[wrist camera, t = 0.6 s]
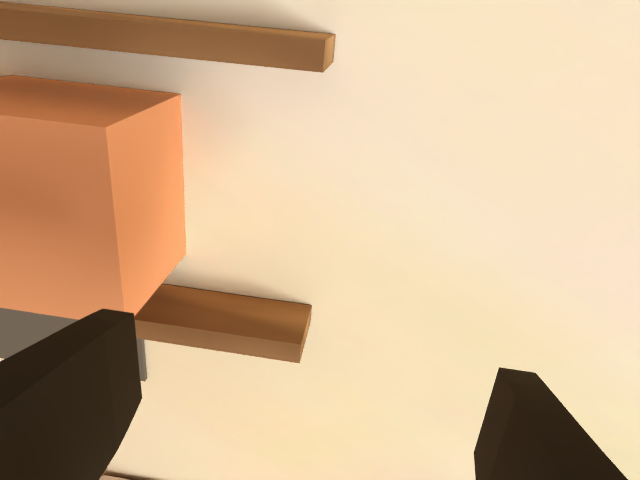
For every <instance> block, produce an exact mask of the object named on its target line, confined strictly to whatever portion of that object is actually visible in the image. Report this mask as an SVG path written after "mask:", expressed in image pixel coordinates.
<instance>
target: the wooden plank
mask: <svg viewBox="0 0 640 480" xmlns="http://www.w3.org/2000/svg"><path fill="white" fill-rule="evenodd" d="M335 35H336V34H327V33H316V32H306V31H296V30H285V29H275V28H265V27H255V26H244V25H234V24H224V23H213V22H203V21H193V20H183V19H172V18H162V17H152V16H141V15H131V14H121V13H110V12H100V11H90V10H80V9H69V8H59V7H49V6H38V5H28V4H18V3H8V2H0V39H5V40H15V41H25V42H34V43H44V44H53V45H63V46H73V47H82V48H92V49H102V50H111V51H121V52H131V53H140V54H150V55H159V56H169V57H179V58H188V59H198V60H208V61H217V62H227V63H236V64H246V65H256V66H265V67H275V68H285V69H294V70H304V71H314V72H324V71H325V70H326V69H327V68H328V67H329V66H330V65H331V64H332V63H333V58H334V46H335ZM311 308H312V305H305V304H298V303H291V302H284V301H277V300H270V299H263V298H256V297H249V296H242V295H235V294H228V293H221V292H214V291H207V290H200V289H193V288H186V287H179V286H172V285H165V284H161V285H160V286H159V287H158V289H157V290H156V291H155V292H154V293H153V295H152V296H151V297H150V298H149V299H148V301H147V302H146V303H145V304H144V306H143V307H142V308H141V309H140V310H139V312H138V313H137V314H136V315H135V316H134V319H135V330H136V338H139V339H145V340H152V341H158V342H165V343H172V344H178V345H185V346H191V347H198V348H204V349H211V350H217V351H224V352H230V353H237V354H243V355H250V356H256V357H263V358H269V359H276V360H282V361H289V362H295V363H300V359H301V356H302V352H303V348H304V344H305V341H306V337H307V333H308V329H309V325H310V320H311Z"/></svg>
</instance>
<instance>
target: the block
mask: <svg viewBox="0 0 640 480" xmlns="http://www.w3.org/2000/svg"><path fill="white" fill-rule="evenodd" d="M185 254H186V235H185V207H184V179H183V151H182V123H181V95H180V94H175V93H166V92H157V91H148V90H139V89H130V88H121V87H113V86H104V85H95V84H86V83H77V82H68V81H59V80H50V79H41V78H32V77H24V76H15V75H10V76H5V77H0V308H6V309H12V310H19V311H25V312H32V313H38V314H45V315H51V316H58V317H64V318H71V319H77V320H80V319H82V318H84V317H86V316H88V315H90V314H92V313H94V312H96V311H98V310H100V309H110V310H116V311H123V312H130V313H134V316H135V315H136V314H137V313H138V312H139V310H140V309H141V308H142V307H143V306H144V304H145V303H146V302H147V301H148V299H149V298H150V297H151V296H152V295H153V293H154V292H155V291H156V290H157V289H158V287H159V286H160V285H161V284H162V282H163V281H164V280H165V279H166V278H167V276H168V275H169V274H170V273H171V271H172V270H173V269H174V268H175V267H176V265H177V264H178V263H179V262H180V261H181V259H182V258H183V257H184V256H185Z"/></svg>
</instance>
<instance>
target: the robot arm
mask: <svg viewBox="0 0 640 480" xmlns="http://www.w3.org/2000/svg"><path fill="white" fill-rule="evenodd" d="M141 399H142V393H141V383H140V372H139V361H138V351H137V340H136V330H135V319H134V313H130V312H123V311H116V310H110V309H100V310H98V311H96V312H94V313H92V314H90V315H88V316H86V317H84V318H82V319H80V320H78V321H76V322H74V323H72V324H70V325H68V326H66V327H64V328H63V329H61V330H59V331H57V332H55V333H53V334H51V335H49V336H48V337H46V338H44V339H42V340H40V341H38V342H36V343H35V344H33V345H31V346H29V347H27V348H25V349H23V350H21V351H19V352H18V353H16V354H14V355H12V356H10V357H8V358H6V359H4V360H2V361H1V362H0V480H129V479H124V478H118V477H113V476H107V475H102V474H103V473H104V471H105V469H106V468H107V466H108V465H109V463H110V461H111V460H112V458H113V457H114V455H115V453H116V452H117V450H118V448H119V446H120V444H121V442H122V440H123V438H124V436H125V434H126V432H127V430H128V428H129V426H130V424H131V421H132V419H133V417H134V415H135V413H136V410H137V408H138V406H139V404H140V401H141ZM474 461H475V475H476V480H628V479H627V478H626V477H625V476H624V475H623V474H622V473H621V472H620V470H619V469H618V468H617V467H616V466H615V465H614V464H613V463H612V461H611V460H610V459H609V458H608V457H607V456H606V455H605V454H604V452H603V451H602V450H601V449H600V448H599V447H598V445H597V444H596V443H595V442H594V441H593V440H592V439H591V437H590V436H589V435H588V434H587V433H586V432H585V430H584V429H583V428H582V427H581V426H580V425H579V423H578V422H577V421H576V420H575V419H574V417H573V416H572V415H571V414H570V413H569V412H568V410H567V409H566V408H565V407H564V406H563V404H562V403H561V402H560V401H559V400H558V398H557V397H556V396H555V395H554V394H553V393H552V391H551V390H550V389H549V388H548V387H547V386H546V384H545V383H544V382H543V381H542V380H541V379H540V378H539V376H538V375H537V374H536V373H533V372H526V371H519V370H513V369H506V368H499V370H498V373H497V376H496V380H495V383H494V386H493V390H492V393H491V397H490V400H489V403H488V407H487V410H486V413H485V417H484V420H483V424H482V427H481V430H480V434H479V437H478V440H477V444H476V447H475V451H474Z"/></svg>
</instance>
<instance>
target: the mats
mask: <svg viewBox="0 0 640 480" xmlns="http://www.w3.org/2000/svg"><path fill="white" fill-rule="evenodd" d="M76 321H78V320H77V319H71V318H64V317H58V316H51V315H45V314H38V313H32V312H25V311H19V310H12V309H6V308H0V358H4V359H6V358H8V357H10V356H12V355H14V354H16V353H18V352H19V351H21V350H23V349H25V348H27V347H29V346H31V345H33V344H35V343H36V342H38V341H40V340H42V339H44V338H46V337H48V336H49V335H51V334H53V333H55V332H57V331H59V330H61V329H63V328H64V327H66V326H68V325H70V324H72V323H74V322H76ZM136 340H137V351H138V361H139V372H140V380H141V381H146V379H147V371H146V359H145V347H144V339H139V338H136Z"/></svg>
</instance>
